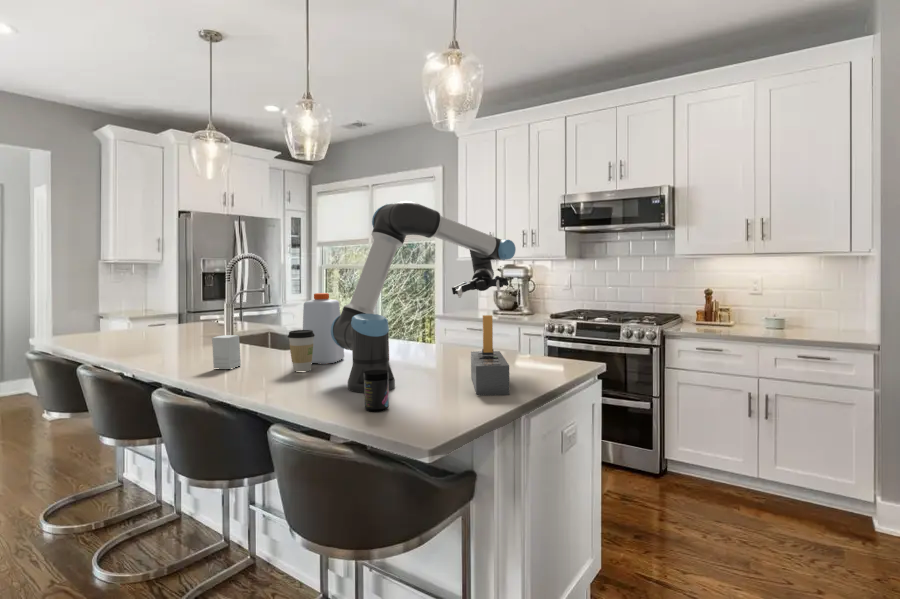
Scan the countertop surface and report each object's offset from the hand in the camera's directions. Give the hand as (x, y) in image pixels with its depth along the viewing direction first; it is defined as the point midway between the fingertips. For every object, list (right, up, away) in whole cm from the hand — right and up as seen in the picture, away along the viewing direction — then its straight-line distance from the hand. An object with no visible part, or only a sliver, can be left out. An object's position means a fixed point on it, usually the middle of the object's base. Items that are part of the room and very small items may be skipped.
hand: (478, 290), depth 186 cm
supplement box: (-96, -30, +25) cm, 104 cm away
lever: (+3, -20, -8) cm, 22 cm away
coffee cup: (-65, -30, +18) cm, 74 cm away
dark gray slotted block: (+3, -30, -3) cm, 31 cm away
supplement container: (-30, -33, -37) cm, 58 cm away
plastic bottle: (-62, -29, +37) cm, 78 cm away
